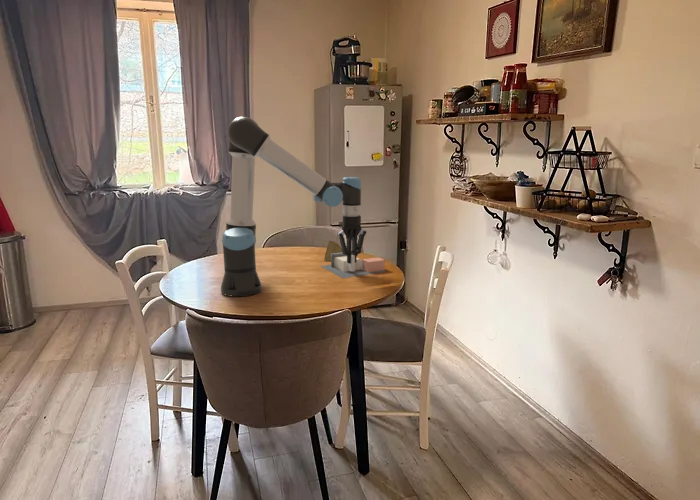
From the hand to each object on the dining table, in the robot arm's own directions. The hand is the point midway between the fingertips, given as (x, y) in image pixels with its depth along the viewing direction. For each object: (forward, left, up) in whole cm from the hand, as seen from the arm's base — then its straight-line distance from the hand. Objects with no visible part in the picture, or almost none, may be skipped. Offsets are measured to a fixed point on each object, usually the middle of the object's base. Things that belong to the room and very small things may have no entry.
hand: (351, 270), depth 211 cm
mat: (+3, +6, -2) cm, 7 cm away
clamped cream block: (+2, +10, -1) cm, 10 cm away
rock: (+4, +24, -2) cm, 24 cm away
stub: (+10, 0, -1) cm, 10 cm away
